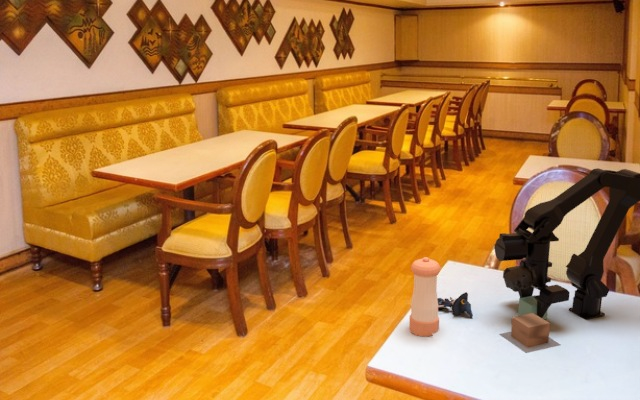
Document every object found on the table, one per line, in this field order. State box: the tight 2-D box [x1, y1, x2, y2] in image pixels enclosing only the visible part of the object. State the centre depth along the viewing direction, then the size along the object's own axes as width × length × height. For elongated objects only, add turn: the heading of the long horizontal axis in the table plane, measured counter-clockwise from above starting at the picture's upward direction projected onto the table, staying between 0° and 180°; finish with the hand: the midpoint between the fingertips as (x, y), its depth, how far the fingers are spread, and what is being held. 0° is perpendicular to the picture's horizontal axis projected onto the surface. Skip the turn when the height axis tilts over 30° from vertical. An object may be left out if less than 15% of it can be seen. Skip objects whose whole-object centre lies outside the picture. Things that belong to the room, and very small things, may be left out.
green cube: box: [517, 295, 548, 320], centre depth 156 cm, size 5×5×5 cm
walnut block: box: [510, 313, 551, 347], centre depth 144 cm, size 6×6×5 cm
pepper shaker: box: [408, 256, 441, 337], centre depth 149 cm, size 7×7×19 cm
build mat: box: [498, 331, 562, 354], centre depth 145 cm, size 10×10×1 cm
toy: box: [437, 291, 474, 319], centre depth 162 cm, size 8×7×15 cm
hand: (532, 314), depth 157 cm, fingers closed on green cube, 5 cm apart
